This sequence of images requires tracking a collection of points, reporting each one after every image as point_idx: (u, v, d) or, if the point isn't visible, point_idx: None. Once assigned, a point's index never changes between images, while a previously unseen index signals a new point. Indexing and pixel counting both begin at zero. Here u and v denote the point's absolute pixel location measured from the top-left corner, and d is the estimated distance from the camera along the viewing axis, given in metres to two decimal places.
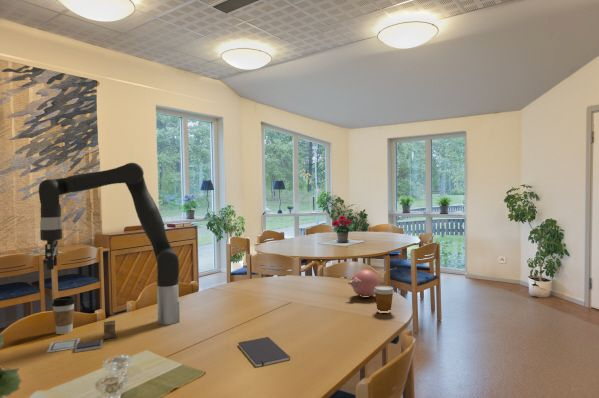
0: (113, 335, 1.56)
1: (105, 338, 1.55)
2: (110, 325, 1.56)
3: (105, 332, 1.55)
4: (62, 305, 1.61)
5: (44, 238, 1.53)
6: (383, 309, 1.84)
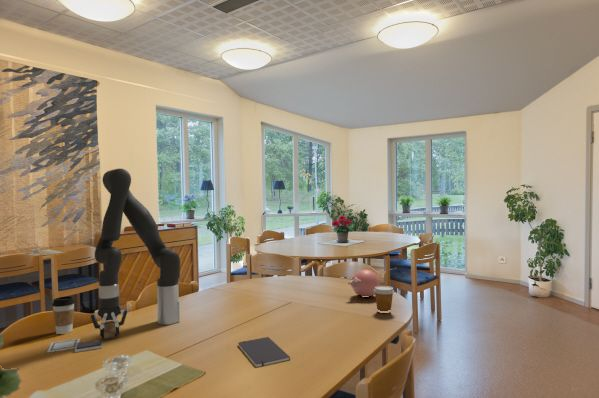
0: (113, 335, 1.56)
1: (105, 338, 1.55)
2: (110, 325, 1.56)
3: (105, 332, 1.55)
4: (62, 305, 1.61)
5: (117, 304, 1.57)
6: (383, 309, 1.84)
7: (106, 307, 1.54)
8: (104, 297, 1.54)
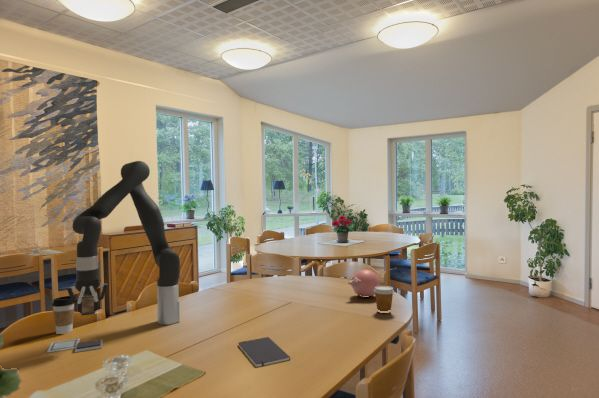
0: (92, 310, 1.47)
1: (83, 313, 1.46)
2: (89, 299, 1.46)
3: (83, 306, 1.46)
4: (62, 305, 1.61)
5: (96, 277, 1.47)
6: (383, 309, 1.84)
7: (84, 280, 1.44)
8: (82, 269, 1.44)
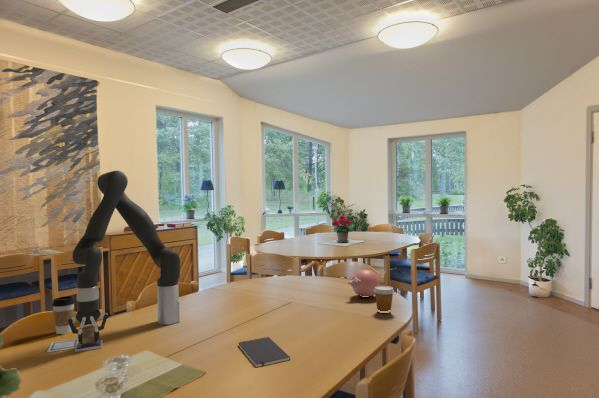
0: (92, 340, 1.47)
1: (83, 344, 1.46)
2: (89, 330, 1.47)
3: (83, 337, 1.46)
4: (62, 305, 1.61)
5: (97, 308, 1.48)
6: (383, 309, 1.84)
7: (84, 311, 1.44)
8: (82, 300, 1.44)
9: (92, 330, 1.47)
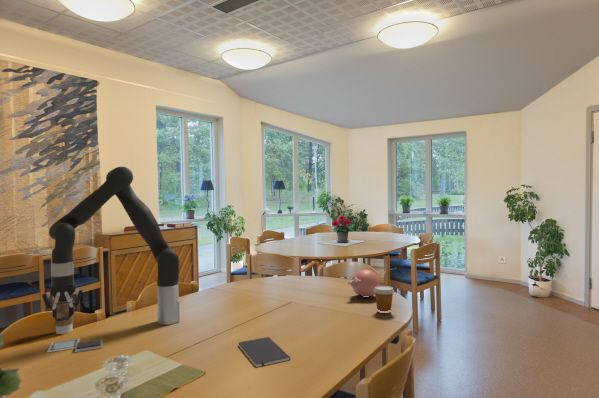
0: (67, 315, 1.49)
1: (58, 318, 1.47)
2: (63, 305, 1.48)
3: (58, 312, 1.47)
4: None
5: (71, 283, 1.49)
6: (383, 309, 1.84)
7: (58, 286, 1.46)
8: (56, 275, 1.46)
9: (66, 305, 1.49)
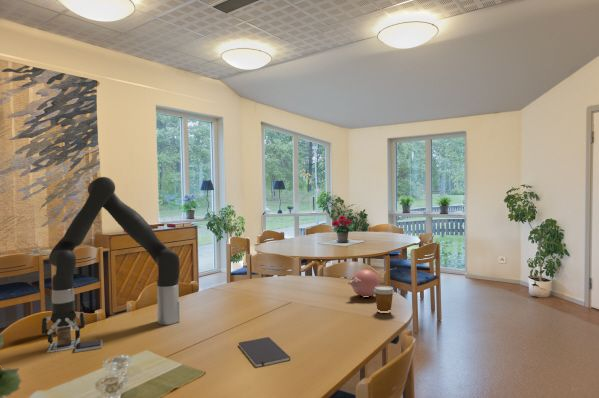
0: (67, 342, 1.49)
1: (58, 345, 1.47)
2: (64, 331, 1.48)
3: (58, 339, 1.48)
4: None
5: (72, 309, 1.49)
6: (383, 309, 1.84)
7: (59, 312, 1.46)
8: (57, 302, 1.46)
9: (67, 332, 1.49)
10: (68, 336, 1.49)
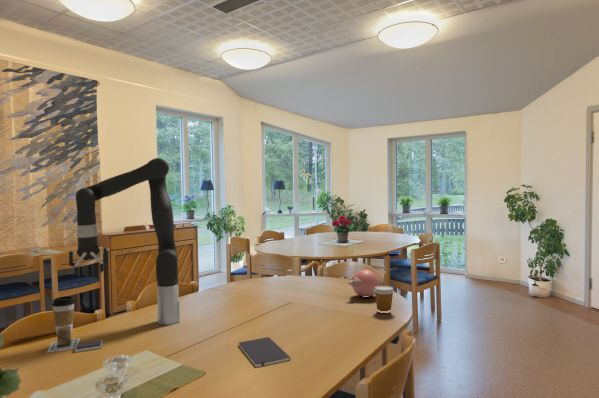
0: (67, 342, 1.49)
1: (58, 345, 1.47)
2: (64, 331, 1.48)
3: (58, 339, 1.48)
4: (62, 305, 1.61)
5: (96, 244, 1.60)
6: (383, 309, 1.84)
7: (85, 246, 1.57)
8: (82, 236, 1.57)
9: (67, 332, 1.49)
10: (68, 336, 1.49)
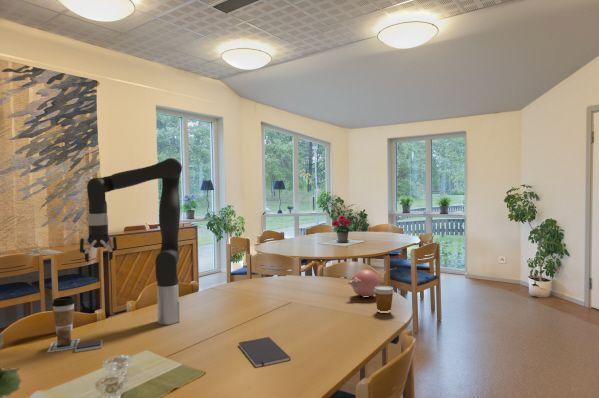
0: (67, 342, 1.49)
1: (58, 345, 1.47)
2: (64, 331, 1.48)
3: (58, 339, 1.48)
4: (62, 305, 1.61)
5: (106, 232, 1.66)
6: (383, 309, 1.84)
7: (95, 234, 1.62)
8: (93, 224, 1.62)
9: (67, 332, 1.49)
10: (68, 336, 1.49)
